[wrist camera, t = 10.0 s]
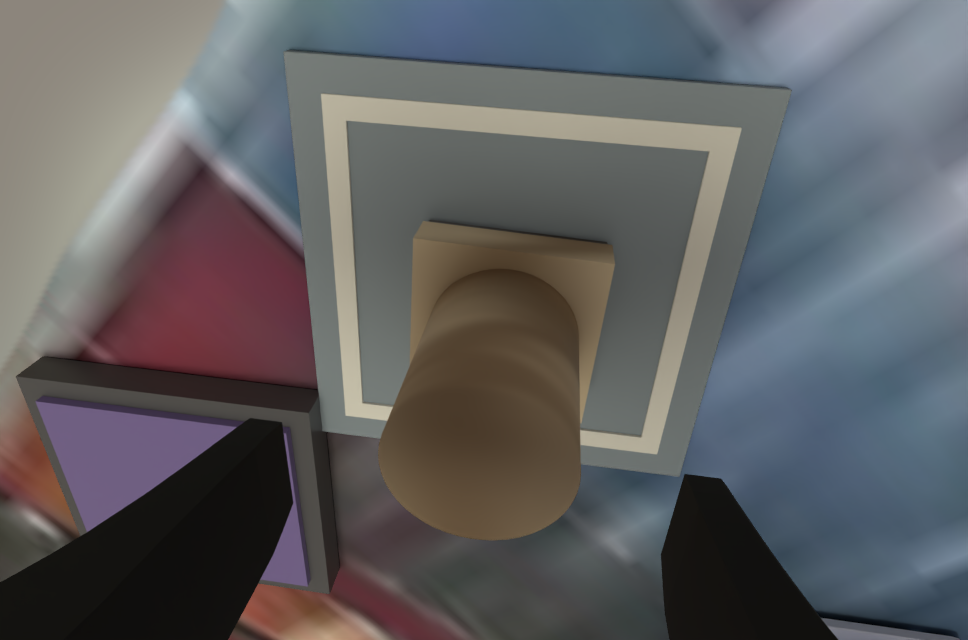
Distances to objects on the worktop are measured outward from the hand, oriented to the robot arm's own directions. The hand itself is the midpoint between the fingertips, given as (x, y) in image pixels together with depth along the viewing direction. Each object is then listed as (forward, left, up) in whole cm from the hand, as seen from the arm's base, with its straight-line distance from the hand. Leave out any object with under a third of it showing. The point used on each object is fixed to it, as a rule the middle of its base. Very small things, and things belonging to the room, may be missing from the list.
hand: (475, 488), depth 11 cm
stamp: (0, 0, -8) cm, 8 cm away
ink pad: (+11, +9, -8) cm, 16 cm away
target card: (0, 0, -8) cm, 8 cm away
